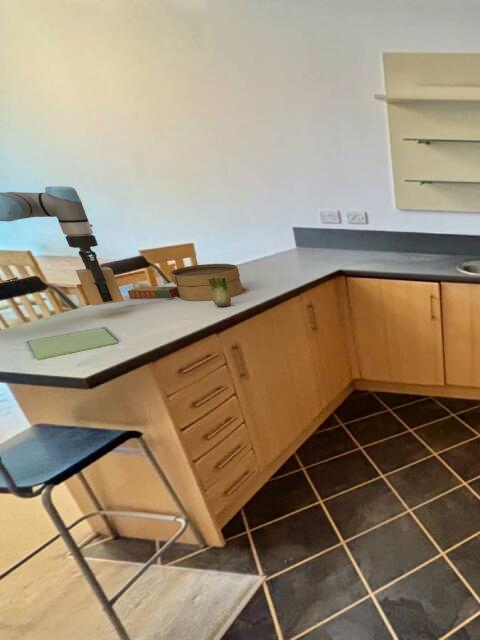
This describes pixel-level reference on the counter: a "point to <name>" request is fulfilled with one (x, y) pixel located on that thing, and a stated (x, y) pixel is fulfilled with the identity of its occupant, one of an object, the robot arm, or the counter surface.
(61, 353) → the mat
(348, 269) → the counter surface
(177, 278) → the steamer basket
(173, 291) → the carton
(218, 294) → the fennel bulb
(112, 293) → the packet
